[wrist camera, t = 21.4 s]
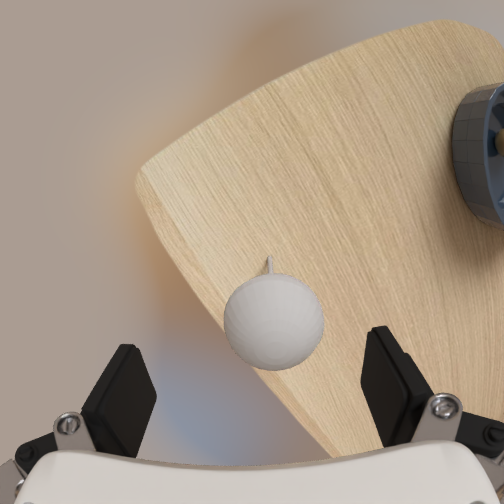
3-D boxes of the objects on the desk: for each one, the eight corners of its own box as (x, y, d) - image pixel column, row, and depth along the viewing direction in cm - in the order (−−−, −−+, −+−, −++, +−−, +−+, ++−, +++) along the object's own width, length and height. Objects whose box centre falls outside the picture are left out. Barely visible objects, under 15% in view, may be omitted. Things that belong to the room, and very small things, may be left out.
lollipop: (311, 265, 29) (352, 359, 15) (263, 297, 30) (263, 405, 16) (276, 214, 28) (291, 274, 13) (226, 249, 29) (193, 336, 14)
